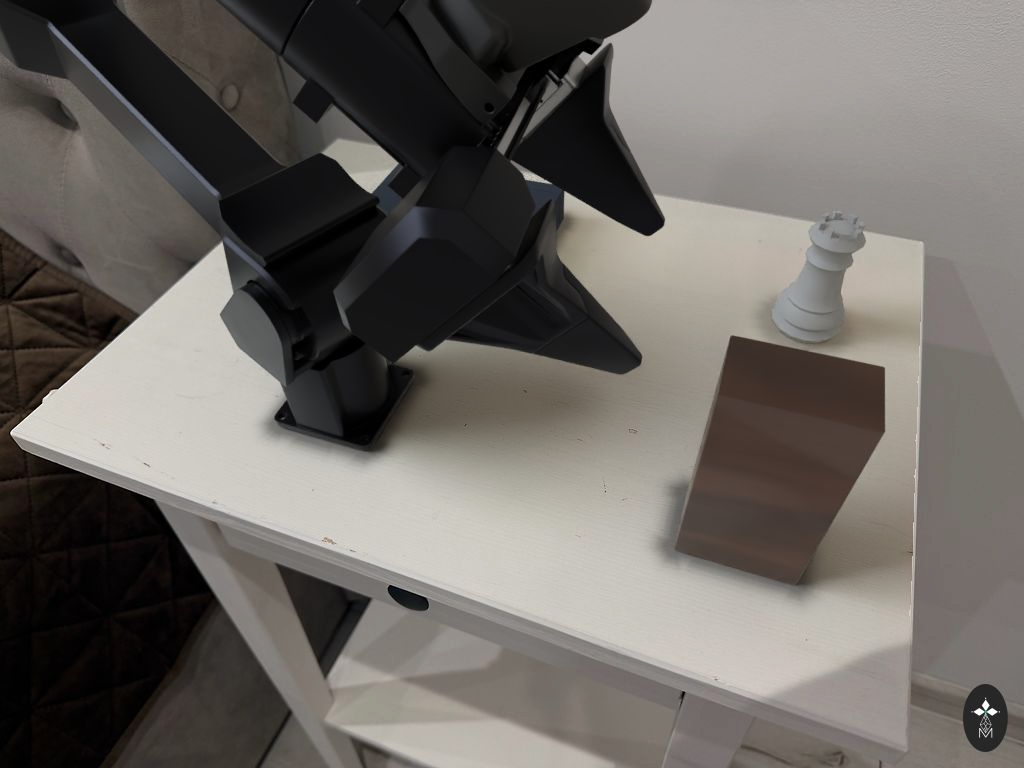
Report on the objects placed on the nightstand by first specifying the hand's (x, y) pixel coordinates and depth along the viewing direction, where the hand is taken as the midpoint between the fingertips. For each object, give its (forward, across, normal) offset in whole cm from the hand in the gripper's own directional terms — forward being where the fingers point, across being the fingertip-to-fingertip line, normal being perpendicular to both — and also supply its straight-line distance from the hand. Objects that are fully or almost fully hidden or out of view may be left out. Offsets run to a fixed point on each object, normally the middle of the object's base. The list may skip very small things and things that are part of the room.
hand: (646, 290), depth 29 cm
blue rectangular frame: (-2, +20, +20) cm, 29 cm away
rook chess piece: (+17, +16, +3) cm, 23 cm away
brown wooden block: (+14, -2, +6) cm, 15 cm away
